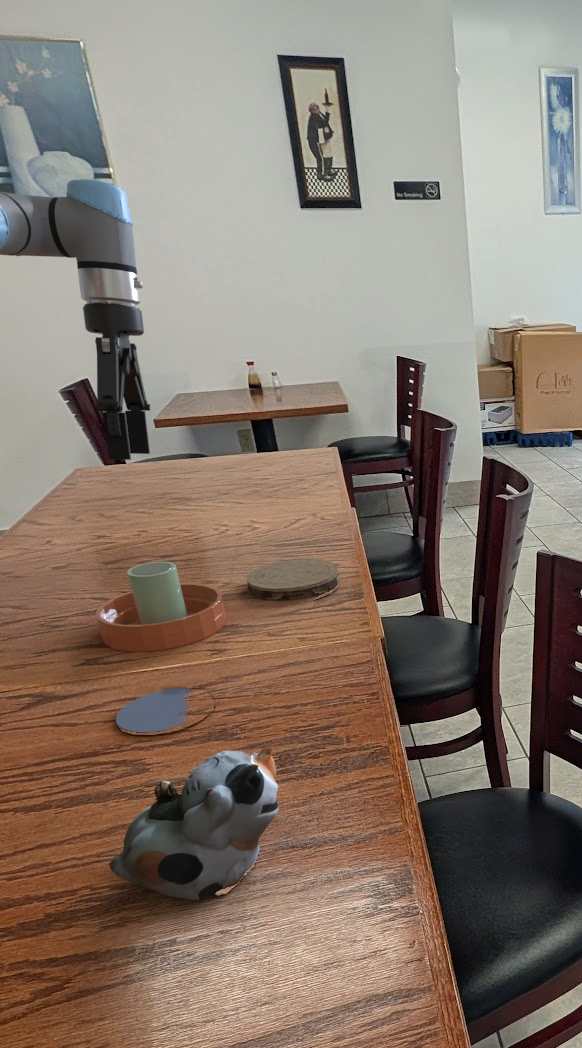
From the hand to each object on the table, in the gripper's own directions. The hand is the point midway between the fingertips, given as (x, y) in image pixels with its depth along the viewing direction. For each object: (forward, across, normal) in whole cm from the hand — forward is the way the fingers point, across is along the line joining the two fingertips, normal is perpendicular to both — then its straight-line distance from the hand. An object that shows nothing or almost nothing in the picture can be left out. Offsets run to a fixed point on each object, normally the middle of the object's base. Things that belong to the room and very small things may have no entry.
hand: (130, 456), depth 124 cm
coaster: (+31, -30, -7) cm, 43 cm away
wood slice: (+24, +13, -22) cm, 35 cm away
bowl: (+27, -1, -2) cm, 28 cm away
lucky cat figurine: (+35, -63, -16) cm, 74 cm away
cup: (+27, -1, -2) cm, 27 cm away
